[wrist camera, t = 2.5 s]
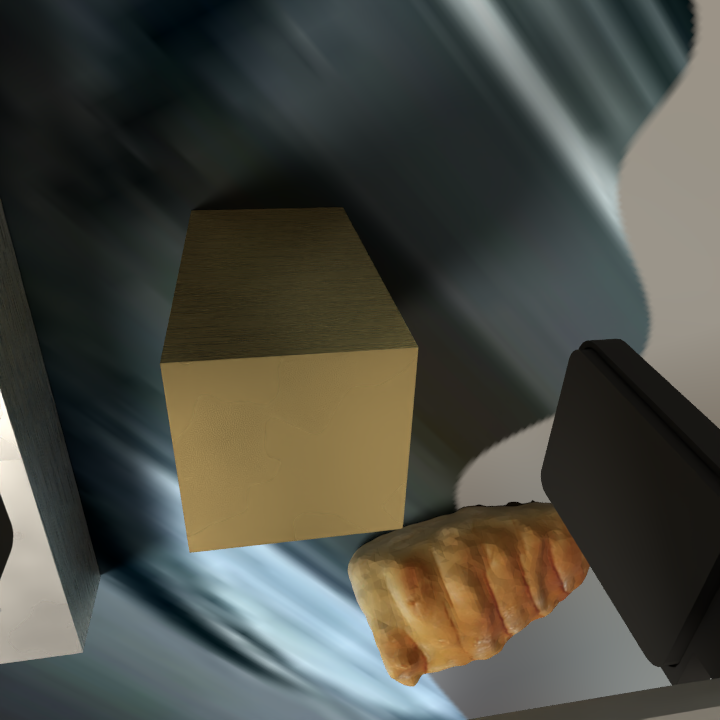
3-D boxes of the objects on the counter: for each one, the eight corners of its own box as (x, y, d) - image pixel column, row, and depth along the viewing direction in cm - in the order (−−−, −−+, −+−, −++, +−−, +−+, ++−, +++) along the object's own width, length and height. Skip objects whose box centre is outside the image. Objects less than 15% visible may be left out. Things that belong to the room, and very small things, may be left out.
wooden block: (340, 337, 19) (402, 528, 12) (205, 345, 18) (189, 552, 11) (342, 207, 17) (418, 347, 10) (191, 210, 16) (159, 363, 9)
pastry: (560, 452, 23) (615, 526, 20) (584, 560, 27) (634, 638, 23) (330, 544, 23) (346, 632, 20) (385, 639, 27) (406, 726, 24)
